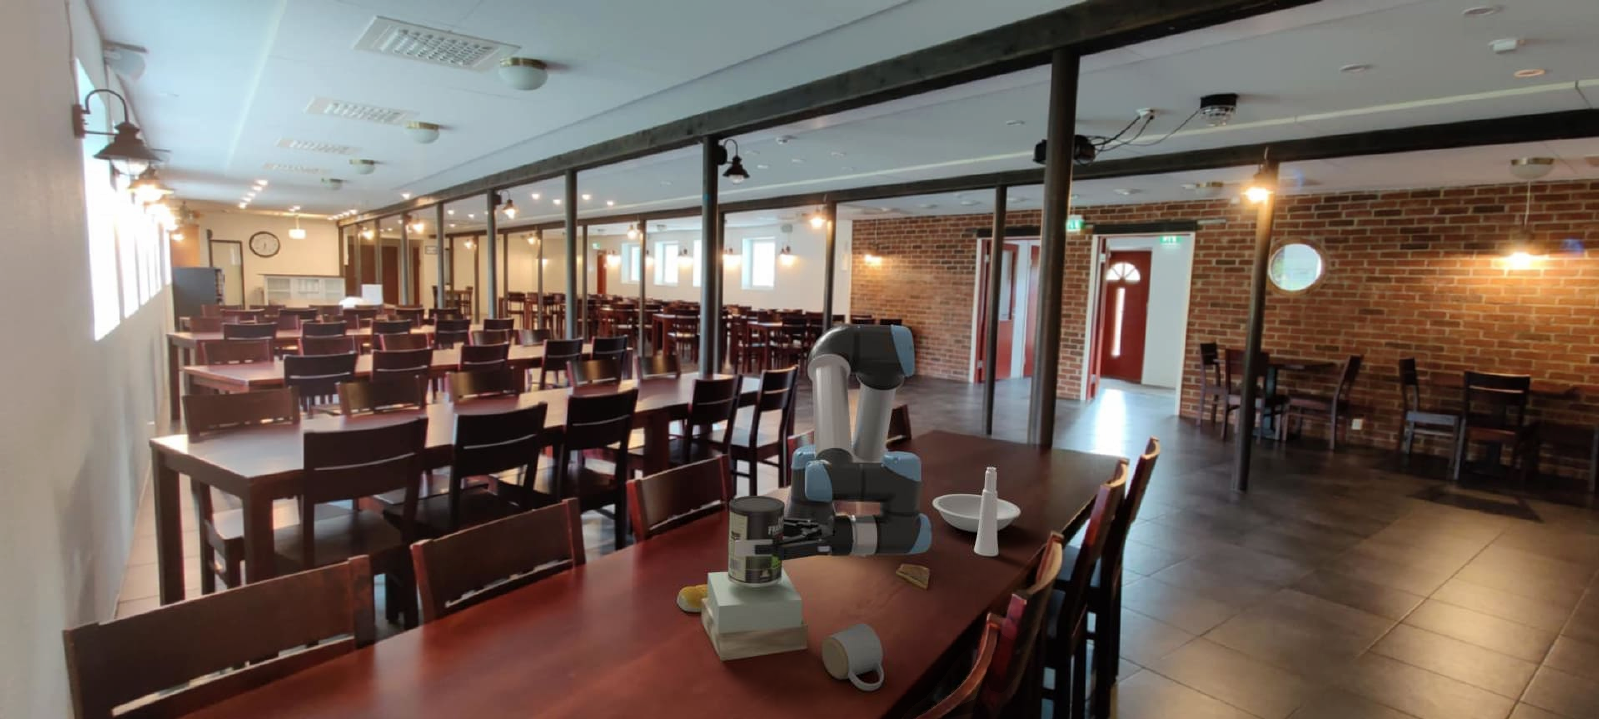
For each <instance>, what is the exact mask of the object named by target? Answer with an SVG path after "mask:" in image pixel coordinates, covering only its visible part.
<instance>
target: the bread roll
mask: <svg viewBox="0 0 1599 719" xmlns="http://www.w3.org/2000/svg"><path fill="white" fill-rule="evenodd" d="M707 592H708V583H707V584H699V585H696V586H684V587H683V588H681V589H680V591H679V592H678V595H677V599H676V600H677V601H676V603H677V605H678V606H679V608H680V609H681V610H683V611H685V612H690V613H701V609H702V599H704V598H707Z"/></svg>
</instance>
